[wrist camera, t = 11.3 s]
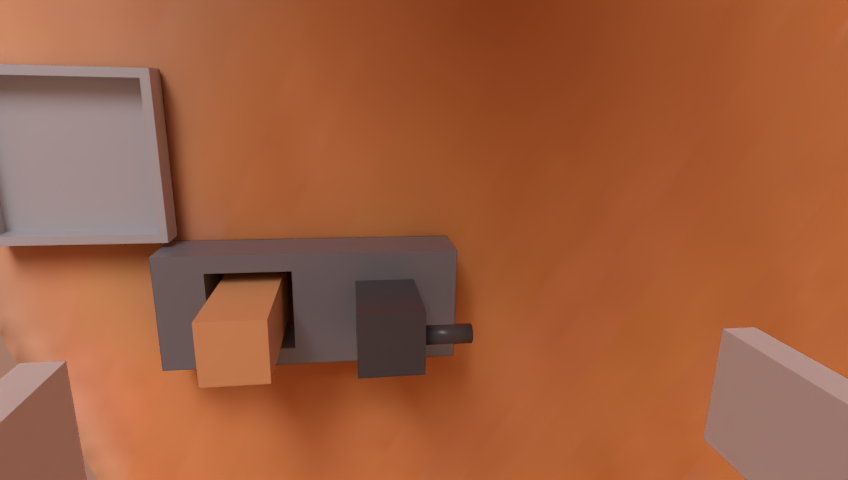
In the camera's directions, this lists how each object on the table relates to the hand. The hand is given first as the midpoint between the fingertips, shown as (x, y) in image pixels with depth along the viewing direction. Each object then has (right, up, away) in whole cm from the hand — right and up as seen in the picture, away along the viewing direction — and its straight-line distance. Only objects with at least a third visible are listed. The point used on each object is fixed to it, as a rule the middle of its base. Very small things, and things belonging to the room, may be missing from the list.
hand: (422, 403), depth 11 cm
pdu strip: (-8, 0, +29) cm, 30 cm away
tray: (-23, +9, +24) cm, 34 cm away
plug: (-12, -1, +28) cm, 31 cm away
